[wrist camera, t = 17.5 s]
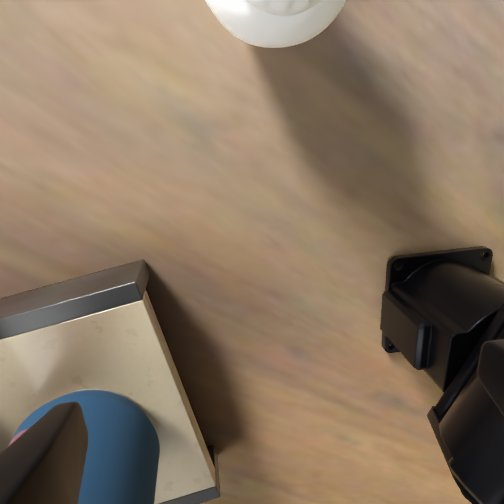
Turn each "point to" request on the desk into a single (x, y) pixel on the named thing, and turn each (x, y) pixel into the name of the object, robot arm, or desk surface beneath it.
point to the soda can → (112, 447)
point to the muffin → (275, 19)
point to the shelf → (103, 368)
